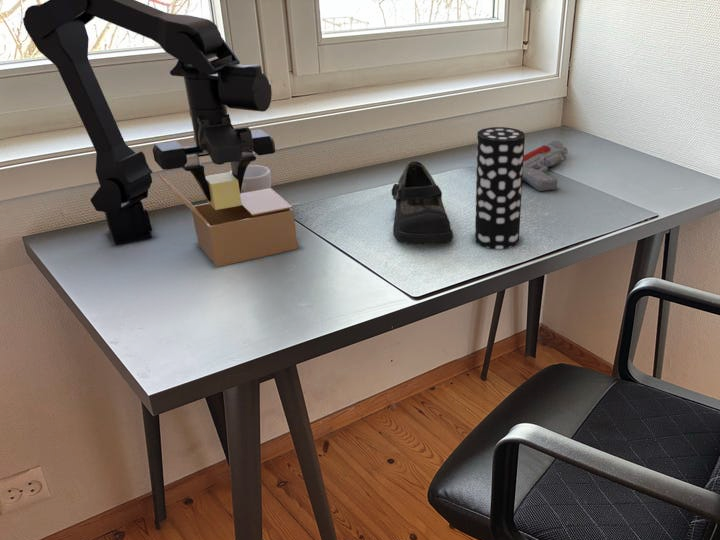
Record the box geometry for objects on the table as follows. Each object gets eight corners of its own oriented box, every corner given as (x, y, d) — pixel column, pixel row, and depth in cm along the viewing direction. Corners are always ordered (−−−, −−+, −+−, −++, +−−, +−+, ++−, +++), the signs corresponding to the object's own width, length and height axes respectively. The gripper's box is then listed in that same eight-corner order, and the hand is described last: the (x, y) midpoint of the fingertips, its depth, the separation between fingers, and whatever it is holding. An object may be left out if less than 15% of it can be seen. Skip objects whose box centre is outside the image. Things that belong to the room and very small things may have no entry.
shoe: (397, 256, 132) (395, 203, 126) (386, 207, 151) (383, 159, 146) (457, 252, 134) (458, 200, 128) (438, 204, 153) (438, 157, 148)
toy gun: (600, 151, 177) (546, 137, 183) (549, 182, 158) (489, 165, 164) (598, 165, 179) (544, 151, 185) (547, 197, 160) (488, 180, 166)
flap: (208, 222, 122) (207, 224, 122) (190, 202, 129) (189, 203, 129) (175, 193, 117) (174, 194, 117) (158, 173, 124) (157, 174, 124)
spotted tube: (473, 231, 142) (475, 127, 131) (515, 230, 143) (521, 127, 132) (476, 249, 135) (479, 141, 124) (521, 248, 136) (528, 140, 125)
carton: (216, 267, 126) (208, 223, 122) (198, 244, 134) (190, 202, 129) (298, 248, 133) (293, 206, 129) (276, 228, 141) (271, 187, 136)
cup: (258, 224, 142) (252, 184, 138) (220, 220, 143) (213, 180, 139) (281, 204, 151) (276, 166, 147) (245, 201, 152) (239, 163, 148)
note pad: (215, 210, 125) (210, 184, 122) (207, 201, 128) (202, 176, 125) (242, 205, 127) (238, 179, 124) (233, 197, 130) (229, 171, 128)
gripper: (160, 125, 108) (180, 224, 117) (281, 110, 117) (292, 203, 126) (142, 108, 116) (163, 202, 125) (257, 95, 125) (269, 183, 134)
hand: (223, 198), depth 127 cm, fingers closed on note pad, 4 cm apart
